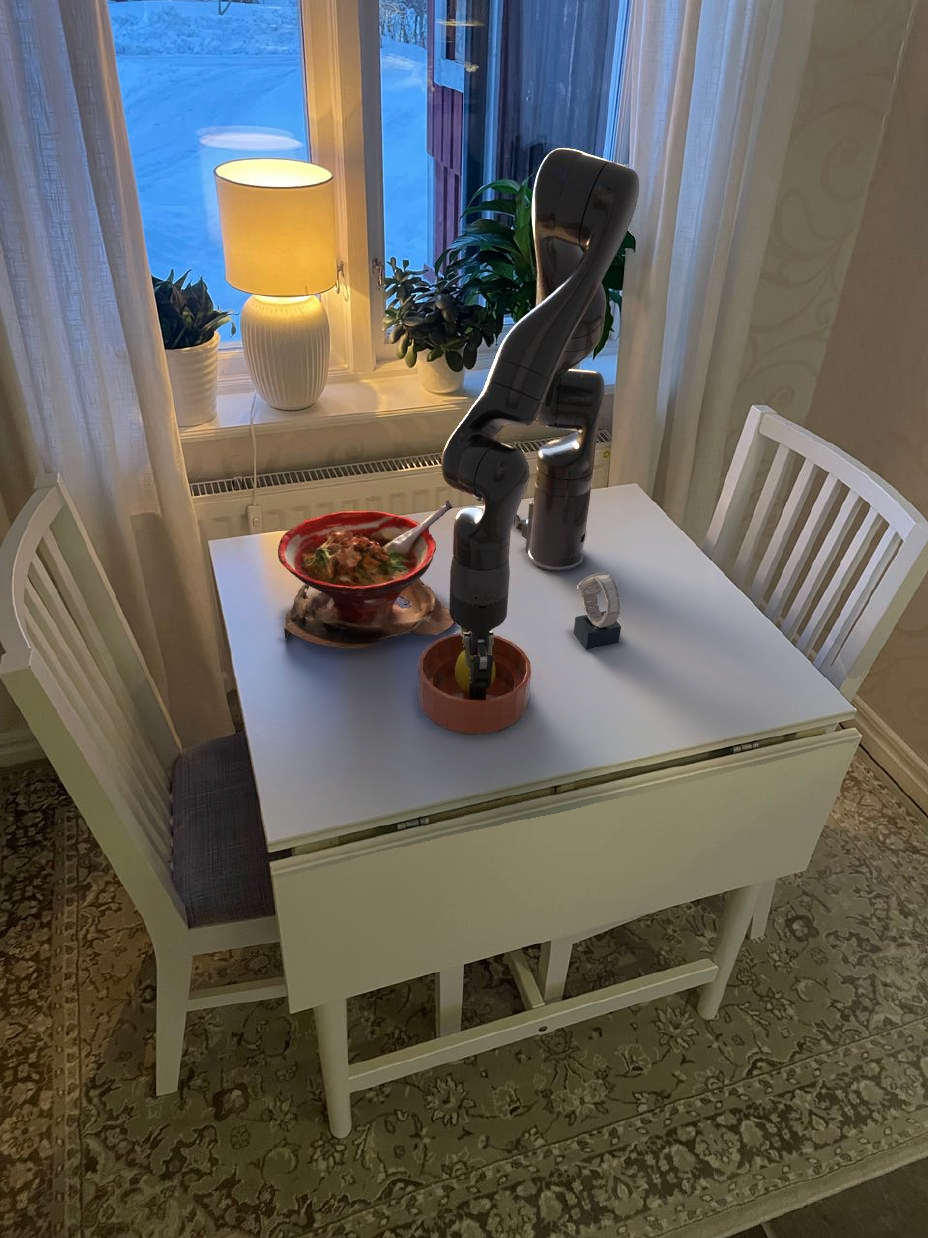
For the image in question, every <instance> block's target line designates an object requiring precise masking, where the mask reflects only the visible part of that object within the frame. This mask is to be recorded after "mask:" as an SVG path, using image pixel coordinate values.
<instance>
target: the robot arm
mask: <svg viewBox="0 0 928 1238" xmlns="http://www.w3.org/2000/svg"><path fill="white" fill-rule="evenodd" d="M639 193H640V178H639V174H638V173H637V171H636V170H634V169H633V168H631V167H629V166H626V165H623V164H620V163H618V162H614V161H612V160H608V159H606V158H601V157H599V156H595V155H592V154H589V153H586V152H584V151H581V150H578V149H572V148H565V147H562V148H561V147H560V148H559V147H558V148H556V149H554V150H552V151H550V152H549V153H548V154H547V155H546V157H544V159H543V161H542V163H541V164H540V166H539V168H538V171H537V173H536V177H535V181H534V185H533V191H532V199H531V224H532V233H533V243H534V250H535V251H534V252H535V259H536V297H535V298H536V299H535V307H534V308H532V309H531V310H530V311H529V312H527V313H526V314H525V315H523V317H522V318H520V319H519V320H518V321H517V323H515V324H514V326H512V327H511V328H510V330H509V331H508V332H507V334H506V335H505V337H504V338H503V341H502V342H501V344H500V346H499V348H498V351H497V353H496V355H495V358H494V360H493V363H492V366H491V368H490V371H489V373H488V376H487V379H486V381H485V384H484V387H483V389H482V391H481V393H480V395H479V396H478V398H477V399H476V401H475V402H474V403H473V405H472V406H471V407H470V409H469V411H468V412H467V413H466V414H465V416H464V418H463V419H462V421H460V423H459V424H458V426H457V428H456V429H455V430H454V431H453V433H452V434H451V435H450V437H449V438H448V440H447V442H446V444H445V446H444V449H443V451H442V455H441V460H440V461H441V462H440V468H441V475H442V477H443V480H444V481H445V483H446V484H447V485H448V486H450V488H451V487H452V488H453V489H455V490H457V491H460V492H462V493H465V494H466V495H469V496H472V497H474V498H475V499H476V501H478V502H482V504H473V505H469V506H466V507H464V508H462V509H460V510H459V512H458V513H457V514H456V516H455V518H454V520H453V521H454V522H453V534H452V559H451V563H450V571H449V607H448V608H449V609H448V610H449V613H450V617H451V618H452V620H453V621H454V623H455V624H456V625H457V626H459V627H460V633H461V638H462V643H463V644H464V645H463V648H464V650H465V663H466V665H467V667H469V681H470V684H469V700H486V688H490V686H491V677H492V668H493V661H494V657H493V655H492V645H493V644H494V635H495V634H494V631H492V630H494V629H495V628H498V627H499V626H501V624H503V623H504V622H505V620H506V618H507V614H508V605H509V603H508V602H509V591H510V578H511V577H510V576H511V575H510V574H511V570H510V568H511V567H510V548H511V531H512V528H513V525H514V524H515V528H516V529H518V530H520V529H521V534H520V535H521V537H522V538H524V539H525V549H524V550H525V551H526V552H527V553H528V555H527V556H528V559H529V560H530V562H531V563H532V564H533V565H535V566H537V567H539V568H541V569H543V570H548V571H552V572H553V571H555V572H564V571H570V570H573V569H576V568H577V567H579V566H580V565H581V564H582V563H583V561H584V547H585V541H586V538H587V532H588V530H587V525H588V517H589V516H588V515H589V509H590V508H589V507H590V500H591V493H592V492H591V491H592V484H593V475H594V469H595V468H594V467H595V457H596V447H597V439H598V434H599V428H600V423H601V418H602V414H603V407H604V400H605V392H606V388H605V386H606V385H605V384H606V383H605V380H604V377H603V375H602V374H601V372H600V371H597V370H589V369H577V368H573V367H575V366H576V365H578V364H579V363H581V362H582V361H583V360H585V359H586V358H587V357H588V356H589V355H591V353H592V352H594V350H595V349H596V347H597V346H598V345H599V343H600V342H601V340H602V339H601V338H602V337H603V334H604V328H605V318H606V314H607V313H606V311H607V294H606V291H605V288H604V285H603V283H602V281H603V280H604V278H605V276H606V273H607V272H608V270H609V268H610V267H611V265H612V262H613V261H614V258H615V257H616V255H617V253H618V251H619V249H620V247H621V244H622V243H623V241H624V239H625V237H626V235H627V232H628V230H629V227H630V225H631V223H632V221H633V217H634V214H635V211H636V208H637V204H638V200H639V196H640V195H639ZM582 249H584V251H583V250H582ZM535 422H536V424H537V425H539V426H540V427H542V428H546V429H550V430H551V429H554V430H555V429H556V430H563V431H572V433H571V434H568V435H566V436H563V437H559V438H555V439H552V440H549V441H547V442H545V443H543V444H542V445H541V446H540V447H538V451H537V455H536V463H535V464H536V467H535V478H534V479H535V480H534V490H533V500H531V501H530V502H529V504H528V514H527V519H521V517H520V515H518V514H517V513H518V511H519V508H520V504H521V503H522V500H523V498H524V495H525V493H526V491H527V488H528V485H529V481H530V477H531V476H530V474H531V473H530V472H531V471H530V466H529V463H528V462H529V461H528V459H527V458H526V457H527V456H525V454H524V452H523V451H521V450H520V449H519V448H517V447H515V446H512V445H510V444H508V443H505V442H501V441H499V440H496V439H495V437H496V436H497V435H498V434H499V433H500V432H501V430H503V429H504V428H505V427H507V426H514V427H515V426H516V427H529V426H531V425H533V424H535ZM573 431H574V432H573ZM486 652H487V655H486ZM470 655H472V656H473V658H472V659H470Z"/></svg>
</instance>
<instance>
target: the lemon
mask: <svg viewBox="0 0 928 1238" xmlns="http://www.w3.org/2000/svg"><path fill="white" fill-rule="evenodd" d="M486 655H487V652H486ZM472 658H473V656H472V655H470V659H472ZM455 678H456V682H457V684H458V686H459V687H460V688H461V689H462V690H463V691H464V692H466V693H467V694H469V684H470V681H469V667H467V665H466V663H465V650H464V651H463V652H462V653H461V654H460V655H459V657H458V659H457V662H456V666H455ZM494 679H495V663H494V661H493V668H492V677H491V686H492V684H493V681H494ZM491 686H490V687H491ZM488 689H489V688H486V691H487V690H488Z"/></svg>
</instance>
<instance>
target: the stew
mask: <svg viewBox="0 0 928 1238" xmlns="http://www.w3.org/2000/svg"><path fill="white" fill-rule="evenodd" d="M452 509H453V506H452V504H451V502H450V500H449V499H446V501H445V503H444V505H441V506H439V509H438V510H436V511H435V512H433V513H432V514H431V515H430V516H429V517H427V518H426V519H425V520H423V521H422V522H421V523H419V522H417V521H416V520H413V519H411V518H409V517H406V516H400V515H397V514H394V513H390V512H386V511H385V512H383V511H375V510H359V511H358V510H356V511H354V510H353V511H349V510H347V511H336V512H332V513H328V514H324V515H321V516H318V517H313V518H308V519H305V520H304V521H303V522H301V523H299V524H297V525H296V526H295V527H293V528H291V529H289V530H287V531H286V532H285V533H284V534H283V535H282V537H281V538H280V541H279V543H278V547H277V557H278V560H279V562H280V563H281V564H282V566H283V567H284V568H285V569H286V570H287V571H288V572H289V573H291V574H292V575H293V576H294V577H296V579H298V580H299V581H300V582H302V583H303V585H301V587H300V589H299V590H298V591H297V593H296V595H295V596H294V599H293V603H292V604H293V605H292V606H291V608H290V609H289V610H288V611H286V613H285V627H284V628H283V632H284V640H287V639H288V636H289V633H290V634H292V635H293V636H296V637H298V638H300V639H302V640H305V641H308V642H311V643H314V644H318V645H322V646H328V647H333V648H343V649H365V648H367V647H370V646H372V645H375V644H378V643H381V642H382V641H385V640H390V639H391V638H392V639H393V638H395V637H397V636H401V635H404V634H418V635H422V636H431V635H435V636H436V635H440V634H441V633H444V632H446V630H448V629H449V628H451V627H452V626H453V624H454V623H455V622H454V621H453V620H452V618H451V617H450V613H449V609H448V608H447V607H446V606H445V604H444V603H443V602H442V601H440V600H439V598H438V597H437V595H436V594H435V592H434V591H433V589H432V587H431V586H429V585H428V584H425V583H424V581H422V579H421V578H422V577H423V575H424V574H425V573H426V572H427V570H428V569H429V568H430V566H431V564H432V562H433V560H434V555H435V553H436V551H437V544H436V541H435V539H434V537H433V535H432V533H430V528H431V526H432V525H434V523H436V522H437V521H438V520H439V519H441V518H442V517H444V515H445V514H446V513H447V512H449V511H450V510H452ZM309 588H311V589H314V590H316V591H319V592H320V593H318V594H317V595H316V594H313V595H310V596H308V595H307V593H308V590H309ZM399 597H403V599H405V600H407V602H403V605H405V604H408V605H409V606H410V607H400V604H396V601H397V599H398V598H399ZM330 599H332V605H331V606H330V607H329V608H328V607H327V605H328V604H329V602H330ZM408 602H409V603H408Z"/></svg>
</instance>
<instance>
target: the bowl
mask: <svg viewBox="0 0 928 1238" xmlns="http://www.w3.org/2000/svg"><path fill="white" fill-rule="evenodd" d="M463 645H464V644H463V643H462V638H461V632H459V633H452V634H449V635H446V636H444V637H440V638H439V639H436V640H435V641H433V642H432V643H431V644H429V645H428V646H427V647H426V648H425V649H424V650H423V652H422V653H421V655H420V657H419V658H418V672H417V673H418V675H417V676H418V679H417V681H418V682H417V684H418V686H417V687H418V689H417V695H418V696H417V697H418V699H417V700H418V703H419V705H420V707H421V709H422V712H423V713H424V714H425V715H426V716H427V717H428V718H429V719H430V720H431V721H432V722H433V723H436V724H437V725H439V726H441V727H443V728H445V729H446V730H449V731H450V730H451V731H455V732H458V733H463V734H487V733H493V732H498V731H501V730H503V729H505V728H507V727H509V726H511V725H513V724H515V723H516V722H517V721H518V720H519V719H520V718H521V717H523V715H524V714H525V712H526V710H527V707H528V705H529V699H530V690H531V679H532V666H531V661H530V659H529V657H528V656H527V654H526V653H525V651H524V650H523V649H522V648H520V647H519V646H518V645H517V644H516V643H514V642H513V641H510V640H509V639H506V638H505V637H503V636H499V635H495V634H494V644H493V645H492V655H493V657H494V663H495V679H494V681H493V684H492V686H491V687H490V688H489V689H488V690H487V691H486V700H469V694H467V693H466V692H464V691H463V690H462V689H461V688H460V687H459V686H458V684H457V682H456V678H455V666H456V662H457V659H458V657H459V655H460V654H461V653H462V652H463V651H464V648H463Z"/></svg>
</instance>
